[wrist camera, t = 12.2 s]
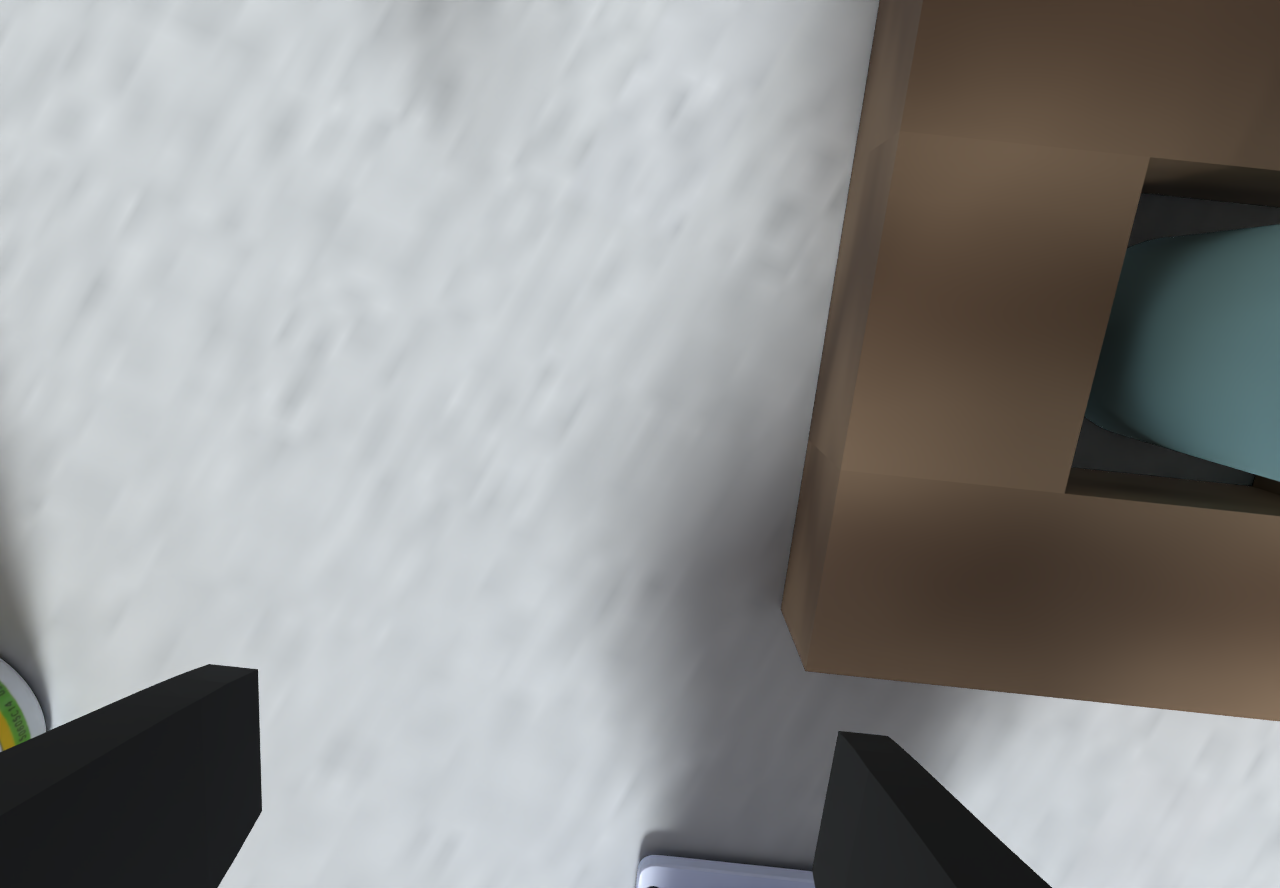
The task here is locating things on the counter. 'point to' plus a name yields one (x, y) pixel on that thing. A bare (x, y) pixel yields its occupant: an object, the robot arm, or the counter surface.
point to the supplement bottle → (17, 709)
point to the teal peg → (1197, 348)
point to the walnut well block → (1030, 363)
